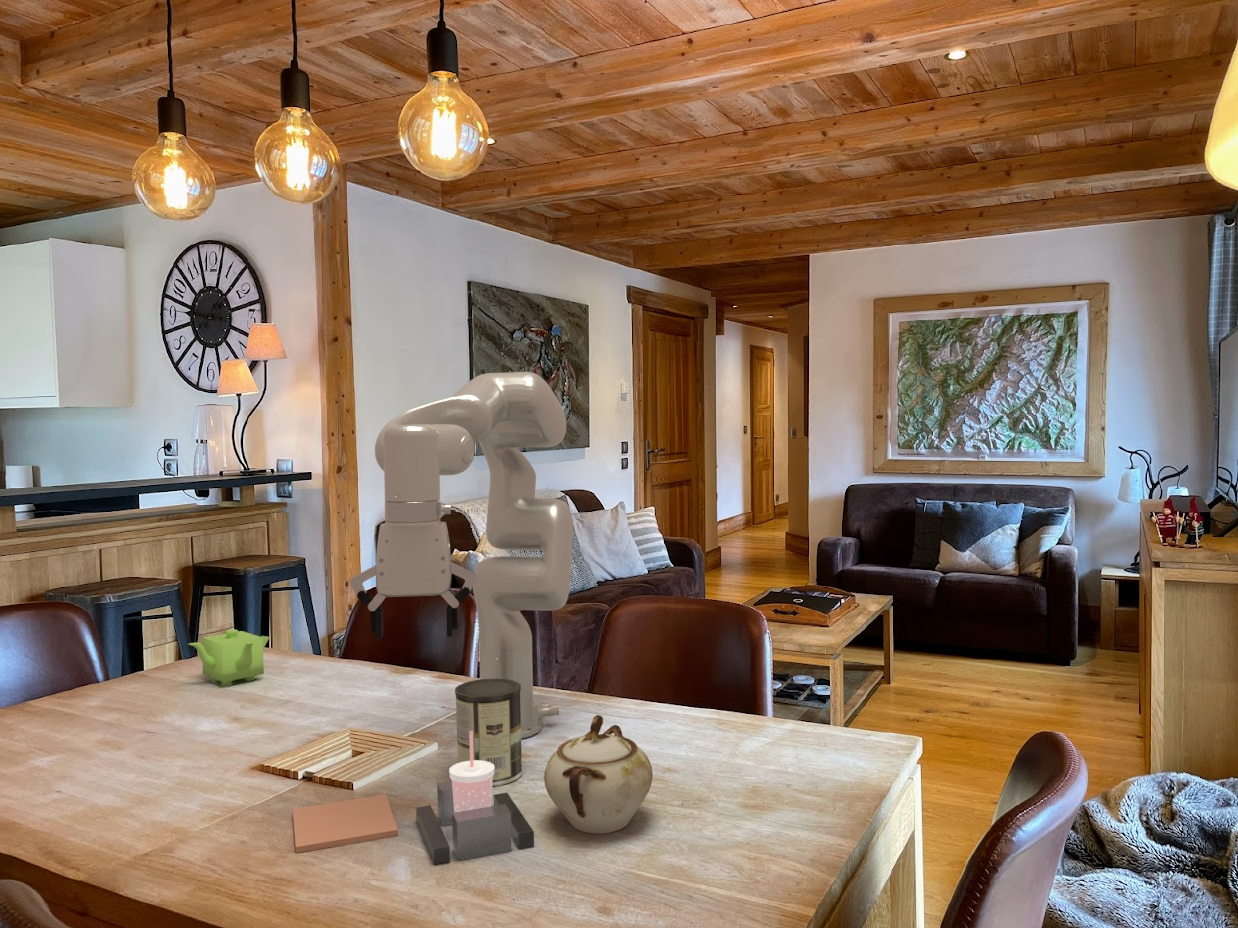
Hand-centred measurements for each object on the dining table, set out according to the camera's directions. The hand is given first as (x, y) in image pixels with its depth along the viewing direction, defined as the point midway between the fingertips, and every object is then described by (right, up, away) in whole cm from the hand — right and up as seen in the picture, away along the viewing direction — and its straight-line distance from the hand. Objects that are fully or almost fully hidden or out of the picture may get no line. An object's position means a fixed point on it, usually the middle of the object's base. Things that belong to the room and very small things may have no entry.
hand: (415, 636), depth 127 cm
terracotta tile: (-10, -26, 0) cm, 28 cm away
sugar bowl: (+26, -26, 0) cm, 36 cm away
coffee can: (+8, -25, +17) cm, 32 cm away
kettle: (-58, -24, +75) cm, 98 cm away
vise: (+9, -26, -4) cm, 28 cm away
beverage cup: (+9, -26, -4) cm, 28 cm away
